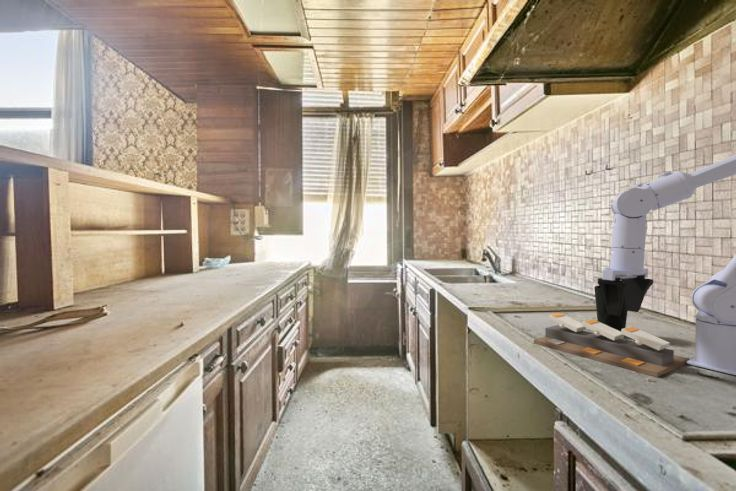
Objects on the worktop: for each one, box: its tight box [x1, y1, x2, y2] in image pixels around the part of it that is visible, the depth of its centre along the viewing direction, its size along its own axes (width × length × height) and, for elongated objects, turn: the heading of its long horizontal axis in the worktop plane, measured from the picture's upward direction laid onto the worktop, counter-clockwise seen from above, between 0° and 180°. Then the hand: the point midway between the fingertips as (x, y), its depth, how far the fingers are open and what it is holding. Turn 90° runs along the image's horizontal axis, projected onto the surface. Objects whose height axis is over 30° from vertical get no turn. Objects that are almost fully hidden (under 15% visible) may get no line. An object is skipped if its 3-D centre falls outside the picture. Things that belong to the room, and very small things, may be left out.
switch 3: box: [621, 326, 671, 351], centre depth 76 cm, size 7×4×2 cm, turn 31°
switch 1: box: [548, 312, 587, 332], centre depth 90 cm, size 7×4×2 cm, turn 31°
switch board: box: [533, 324, 690, 378], centre depth 82 cm, size 25×14×3 cm, turn 31°
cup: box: [593, 285, 628, 337], centre depth 96 cm, size 8×8×12 cm
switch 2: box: [581, 318, 625, 340], centre depth 83 cm, size 7×4×2 cm, turn 31°
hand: (623, 312), depth 79 cm, fingers open, 7 cm apart
